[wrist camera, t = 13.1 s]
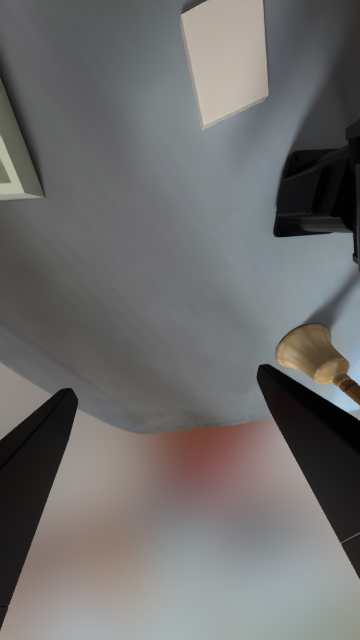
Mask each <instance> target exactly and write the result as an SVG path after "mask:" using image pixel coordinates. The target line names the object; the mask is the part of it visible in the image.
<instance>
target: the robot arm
mask: <svg viewBox="0 0 360 640" xmlns="http://www.w3.org/2000/svg"><path fill="white" fill-rule="evenodd" d="M345 130H346V140H349V145H347V146H344V147H342V148H340V149H323V150H302V151H295V152H293V153H292V154H290V155H289V157H288V159H287V163H286V169H285V174H284V179H283V182H282V184H281V189H280V195H279V200H278V206H277V211H276V215H277V216H276V222H275V227H274V236H275V237H291V236H304V235H317V234H330V233H333V232H340V233H353V239H354V253H353V261H354V262H356V263H357V264H358V266H359V271H360V119H359V120H358V121H356V122H355V123H353V124H352V125H350V126H349V127H347V128H346V129H345ZM293 157H295V162H293ZM279 230H281V232H280V234H278V231H279ZM257 382H258V384H259V386H260V389H261V391H262V394H263V396H264V398H265V401H266V403H267V406H268V408H269V410H270V412H271V414H272V416H273V418H274V420H275V422H276V424H277V426H278V427H279V429H280V431H281V433H282V435H283V436H284V439H285V440H286V442H287V444H288V446H289V448H290V450H291V452H292V453H293V455H294V457H295V459H296V461H297V463H298V465H299V467H300V468H301V470H302V472H303V474H304V476H305V478H306V480H307V481H308V483H309V485H310V487H311V489H312V491H313V493H314V495H315V496H316V498H317V500H318V502H319V504H320V506H321V507H322V509H323V511H324V513H325V515H326V517H327V519H328V521H329V522H330V524H331V526H332V528H333V530H334V532H335V534H336V535H337V537H338V539H339V541H340V543H342V547H343V549H344V551H345V553H346V555H347V556H348V558H349V560H350V562H351V564H352V565H353V568H354V569H355V571H356V573H357V575H358V577H359V579H360V420H358V419H357V418H355V417H354V416H352V415H350V414H349V413H347V412H346V411H344V410H342V409H341V408H339V407H337V406H336V405H334V404H333V403H331V402H329V401H328V400H326V399H324V398H323V397H321V396H320V395H318V394H316V393H315V392H313V391H312V390H310V389H308V388H307V387H305V386H303V385H302V384H300V383H299V382H297V381H295V380H294V379H292V378H290V377H289V376H287V375H286V374H284V373H282V372H281V371H279V370H277V369H276V368H274V367H273V366H271V365H269V364H262V365H259V368H258V372H257ZM77 406H78V398H77V396H76V395H75V393H74V391H73V389H72V388H65V389H61V390H59V391H58V392H57V393H56V394H55V395H53V396H52V397H51V398H50V399H49V400H47V401H46V402H45V403H44V404H43V405H42V406H40V407H39V408H38V409H37V410H36V411H34V412H33V413H32V414H31V415H30V416H29V417H28V418H26V419H25V420H24V421H23V422H21V423H20V424H19V425H18V426H17V427H16V428H14V429H13V430H12V431H11V432H10V433H8V434H7V435H6V436H5V437H4V438H3V439H1V440H0V630H1V627H2V624H3V621H4V618H5V616H6V613H7V610H8V605H9V604H10V601H11V599H12V596H13V593H14V590H15V587H16V585H17V582H18V579H19V576H20V574H21V571H22V568H23V565H24V562H25V560H26V557H27V554H28V551H29V549H30V546H31V543H32V540H33V537H34V535H35V532H36V529H37V526H38V523H39V521H40V518H41V515H42V512H43V510H44V507H45V504H46V501H47V498H48V496H49V493H50V490H51V487H52V485H53V482H54V479H55V476H56V473H57V471H58V468H59V465H60V463H61V460H62V457H63V454H64V451H65V449H66V446H67V443H68V440H69V437H70V433H71V429H72V425H73V422H74V417H75V414H76V410H77Z"/></svg>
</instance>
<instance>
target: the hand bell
mask: <svg viewBox="0 0 360 640" xmlns="http://www.w3.org/2000/svg"><path fill="white" fill-rule="evenodd" d="M276 359H277V361H278V362H279V364H281V365H282V366H284V367H287V368H291V369H298V370H300V371H302V372H304V373H305V374H307V375H308V376H309V377H311V378H312V379H313V380H314V381H316V382H317V383H319V384H330V383H334V384H335V385H336V386H338V387H339V388H340V389H341V390H342V391H343V392H345V393H346V394H347V395H348V396H349V397H350V398H351V399H353V400H354V401H355V402H356V403H357V404H359V405H360V386H359V385H358V384H357V383H356V382H355V381H354V380H352V379H351V378H350V377H349V376H348V375H347V374H346V373H347V372H348V370H349V366H350V365H349V362H348V361H347V360H346V359H345V358H344V357H343V356H342V355H341V354H340V353H339V352H338V351H337V350H336V349H335V348H334V347H333V345H332V343H331V335H330V332H329V331H328V329H327V328H326V327H324V326H323V325H319V324H308V325H304V326H301V327H299V328H297V329H295V330H293V331H292V332H290V333H289V334H288V335H287V336H286V337H285V338H284V339H283V340H282V341H281V342H280V344H279V346H278V348H277V350H276Z"/></svg>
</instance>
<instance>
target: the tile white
mask: <svg viewBox="0 0 360 640" xmlns="http://www.w3.org/2000/svg"><path fill="white" fill-rule="evenodd" d="M180 28H181V33H182V38H183V43H184V47H185V52H186V57H187V62H188V67H189V71H190V76H191V81H192V86H193V91H194V96H195V100H196V105H197V110H198V115H199V120H200V124H201V129H202V130H203V129H206V128H208V127H210V126H212V125H214V124H216V123H218V122H220V121H223V120H225V119H227V118H229V117H231V116H233V115H235V114H237V113H240V112H242V111H244V110H246V109H248V108H250V107H252V106H254V105H257V104H259V103H261V102H263V101H264V100H265V99H266V98H267V96H268V95H269V93H268V76H267V60H266V44H265V27H264V11H263V0H207V1H205V2H203V3H201V4H200V5H198V6H196V7H194V8H192V9H190V10H189V11H187V12H185V13H183V14H181V21H180Z"/></svg>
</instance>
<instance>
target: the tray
mask: <svg viewBox="0 0 360 640" xmlns="http://www.w3.org/2000/svg"><path fill="white" fill-rule="evenodd" d="M34 198H45V196H44V193H43V191H42V188H41V185H40V183H39V180H38V177H37V175H36V172H35V169H34V166H33V164H32V161H31V158H30V156H29V153H28V150H27V148H26V145H25V142H24V140H23V137H22V134H21V131H20V129H19V126H18V123H17V121H16V118H15V115H14V113H13V110H12V107H11V105H10V102H9V99H8V96H7V94H6V91H5V88H4V86H3V83H2V80H1V78H0V200H17V199H34Z"/></svg>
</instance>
